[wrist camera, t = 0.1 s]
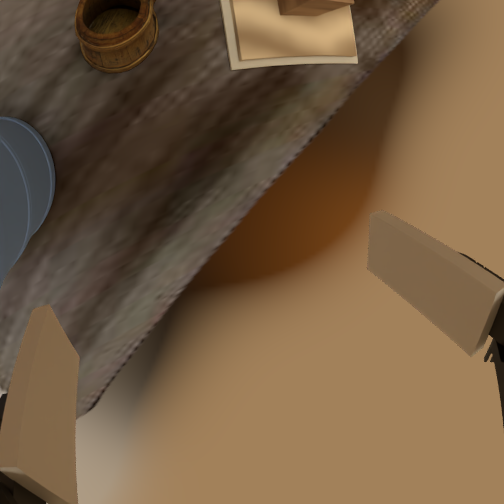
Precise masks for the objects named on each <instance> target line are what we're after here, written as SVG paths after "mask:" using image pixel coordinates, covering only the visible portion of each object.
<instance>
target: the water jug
mask: <svg viewBox="0 0 504 504" xmlns="http://www.w3.org/2000/svg"><path fill="white" fill-rule="evenodd" d="M54 192H55V169H54V163H53V159H52V156H51V153H50V151H49V148H48V146H47V144H46V143H45V141H44V139H43V138H42V137H41V135H40V134H39V133H38V132H37V131H36V130H35V129H34V128H33V127H32V126H30V125H29V124H27V123H26V122H24V121H22V120H19V119H17V118H13V117H0V288H1V286H2V283H3V280H4V279H5V277H6V275H7V273H8V272H9V270H10V269H11V268H12V266H13V265H14V264H15V263H16V262H17V260H18V259H19V257H20V256H21V254H22V253H23V251H24V249H25V248H26V246H27V244H28V242H29V239H30V238H31V236H32V235H33V234H34V233H35V232H36V231H37V230H38V229H39V228H40V226H41V224H42V223H43V222H44V220H45V218H46V216H47V214H48V212H49V210H50V207H51V205H52V201H53V197H54Z"/></svg>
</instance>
